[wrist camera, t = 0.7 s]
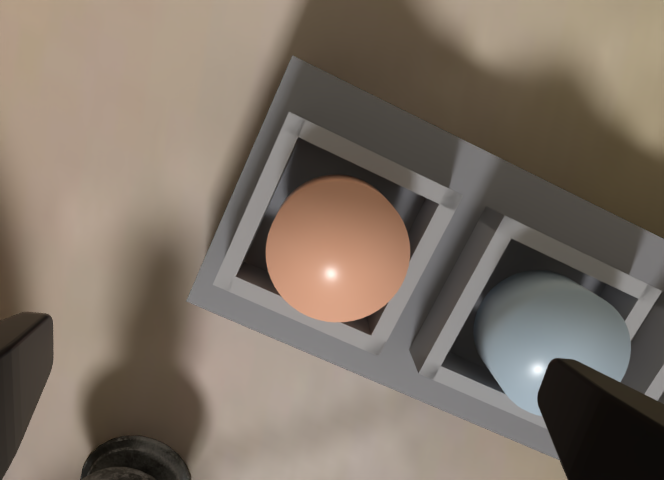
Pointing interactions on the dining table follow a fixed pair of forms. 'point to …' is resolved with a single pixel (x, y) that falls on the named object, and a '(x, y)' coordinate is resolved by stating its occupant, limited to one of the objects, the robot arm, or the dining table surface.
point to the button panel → (426, 250)
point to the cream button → (661, 398)
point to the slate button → (546, 332)
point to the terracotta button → (337, 249)
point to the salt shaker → (134, 461)
